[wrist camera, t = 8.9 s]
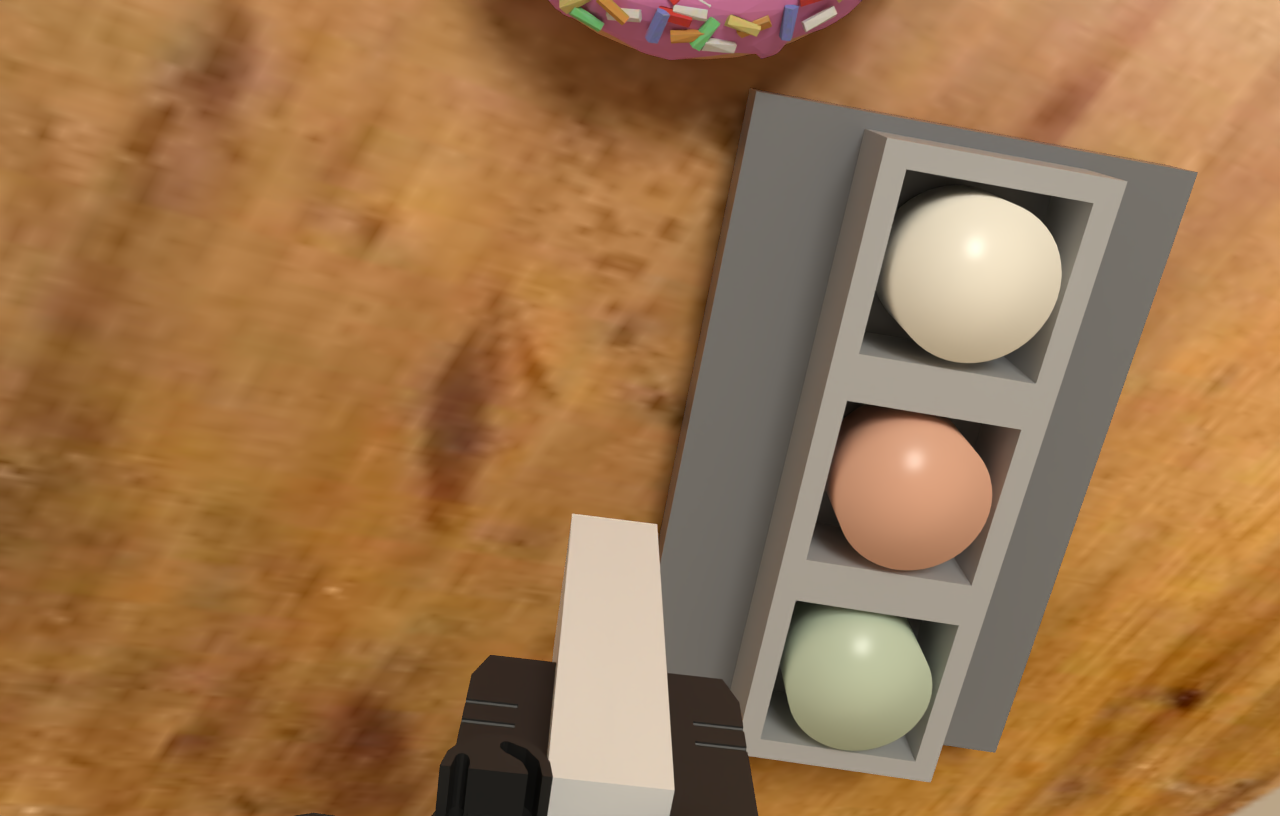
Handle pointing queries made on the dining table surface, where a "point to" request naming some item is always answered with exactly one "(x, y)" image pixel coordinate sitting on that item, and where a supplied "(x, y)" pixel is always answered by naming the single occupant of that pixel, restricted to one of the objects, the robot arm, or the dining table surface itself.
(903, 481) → the button terracotta
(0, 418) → the dining table surface
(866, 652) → the button sage
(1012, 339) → the button ivory
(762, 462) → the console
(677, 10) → the donut
